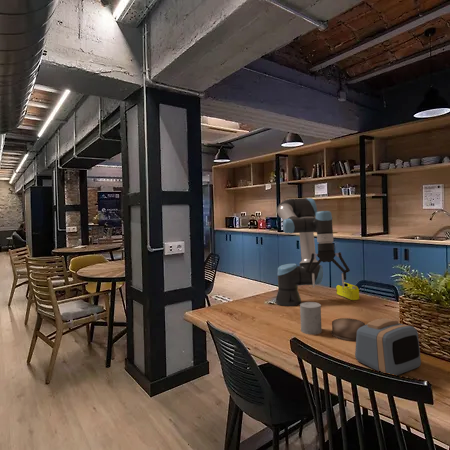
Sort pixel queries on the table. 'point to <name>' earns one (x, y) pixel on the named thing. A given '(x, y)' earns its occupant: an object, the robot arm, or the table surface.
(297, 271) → the robot arm
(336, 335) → the plinth
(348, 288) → the yellow toy chassis
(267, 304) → the table surface
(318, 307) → the speckled grey cylinder
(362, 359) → the alarm clock
